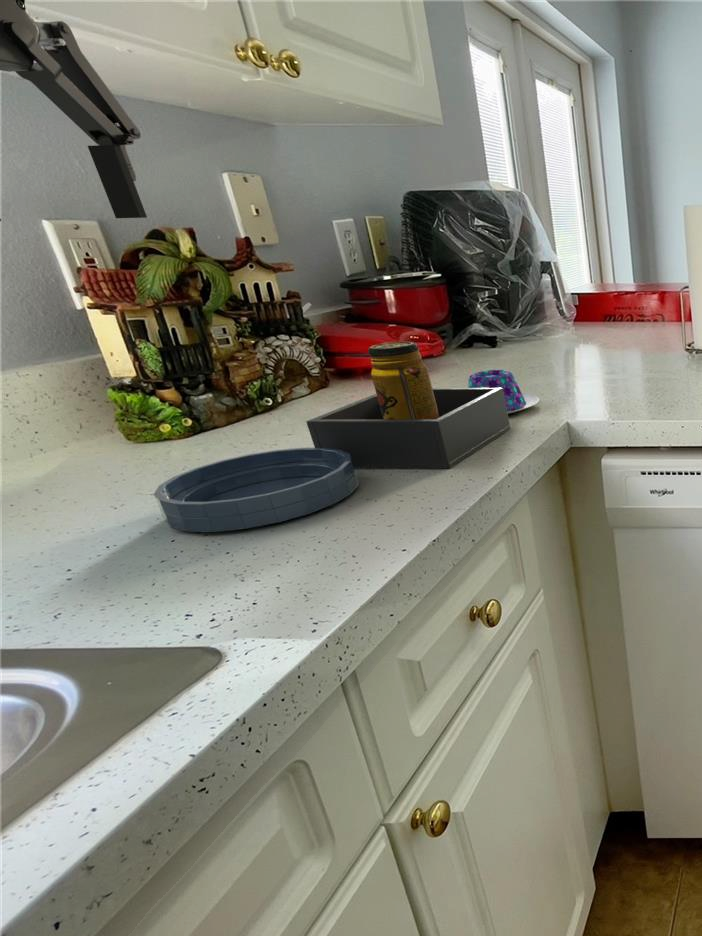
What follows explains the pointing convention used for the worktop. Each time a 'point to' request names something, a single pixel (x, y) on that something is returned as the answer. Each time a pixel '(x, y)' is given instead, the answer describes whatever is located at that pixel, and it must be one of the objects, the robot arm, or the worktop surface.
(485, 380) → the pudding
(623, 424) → the worktop surface
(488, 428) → the bin
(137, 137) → the robot arm
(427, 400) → the condiment
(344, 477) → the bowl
